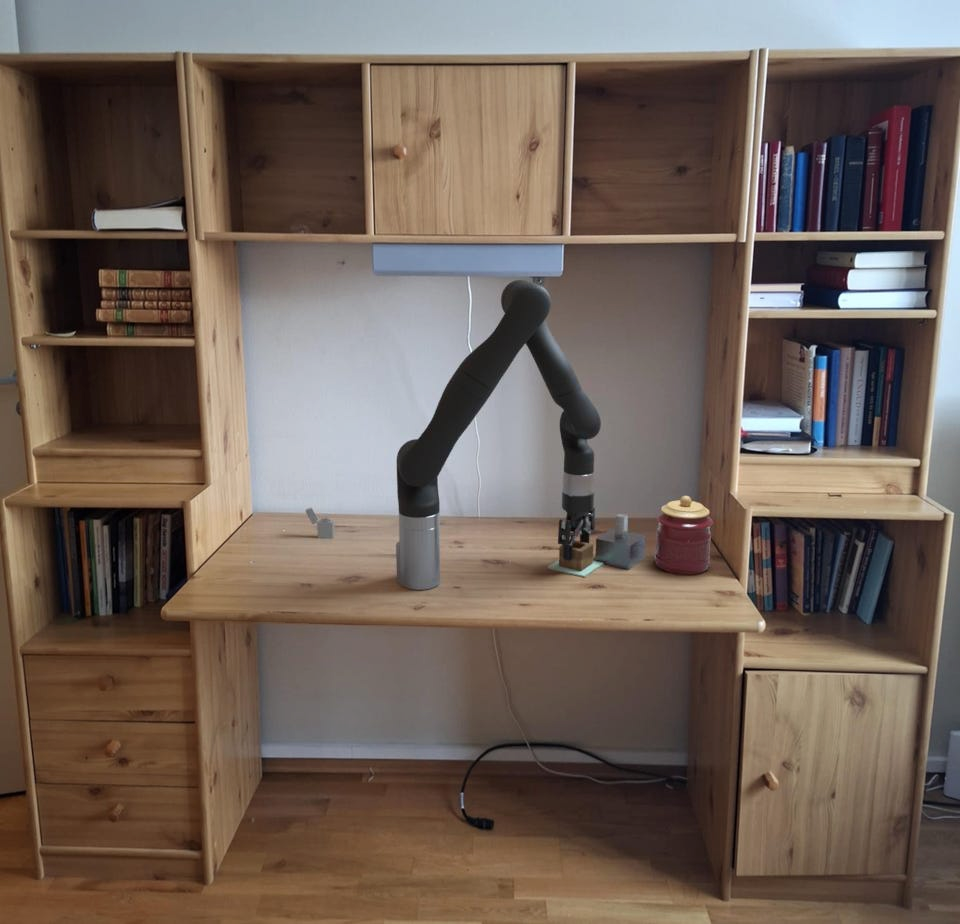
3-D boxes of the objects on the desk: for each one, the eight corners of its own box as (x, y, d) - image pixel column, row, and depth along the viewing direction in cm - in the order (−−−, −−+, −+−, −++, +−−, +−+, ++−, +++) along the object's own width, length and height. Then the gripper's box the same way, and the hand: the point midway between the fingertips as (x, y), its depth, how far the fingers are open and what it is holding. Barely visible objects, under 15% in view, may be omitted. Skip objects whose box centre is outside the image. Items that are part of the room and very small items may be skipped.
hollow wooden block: (558, 566, 211) (559, 546, 210) (570, 558, 216) (571, 539, 214) (581, 571, 208) (581, 551, 206) (592, 563, 212) (593, 544, 211)
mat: (547, 568, 210) (547, 567, 210) (567, 556, 218) (567, 554, 218) (584, 577, 205) (584, 575, 205) (603, 564, 213) (603, 562, 213)
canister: (698, 579, 204) (703, 507, 199) (646, 568, 210) (649, 498, 206) (716, 562, 214) (721, 493, 210) (665, 552, 221) (669, 485, 217)
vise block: (595, 561, 215) (596, 517, 212) (611, 550, 222) (613, 507, 219) (629, 569, 210) (631, 523, 207) (644, 558, 217) (646, 514, 214)
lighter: (334, 536, 233) (333, 507, 230) (333, 538, 231) (331, 509, 229) (308, 535, 233) (306, 506, 231) (306, 537, 231) (305, 508, 229)
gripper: (578, 480, 214) (576, 543, 219) (549, 494, 203) (547, 560, 207) (605, 485, 210) (603, 548, 215) (578, 500, 199) (576, 566, 203)
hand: (576, 554), depth 211 cm, fingers open, 8 cm apart
